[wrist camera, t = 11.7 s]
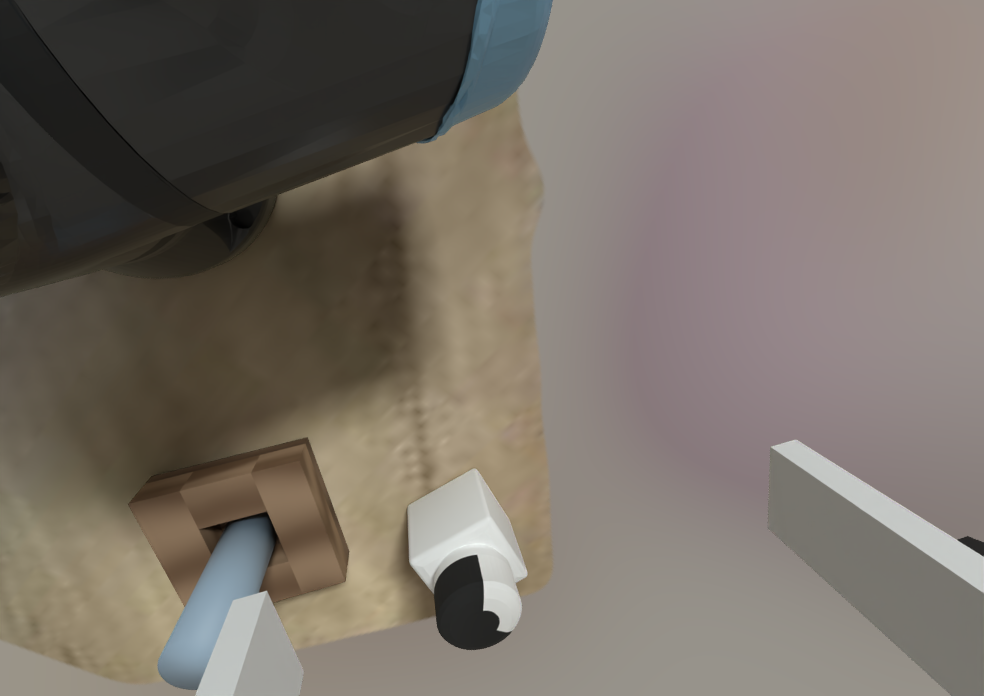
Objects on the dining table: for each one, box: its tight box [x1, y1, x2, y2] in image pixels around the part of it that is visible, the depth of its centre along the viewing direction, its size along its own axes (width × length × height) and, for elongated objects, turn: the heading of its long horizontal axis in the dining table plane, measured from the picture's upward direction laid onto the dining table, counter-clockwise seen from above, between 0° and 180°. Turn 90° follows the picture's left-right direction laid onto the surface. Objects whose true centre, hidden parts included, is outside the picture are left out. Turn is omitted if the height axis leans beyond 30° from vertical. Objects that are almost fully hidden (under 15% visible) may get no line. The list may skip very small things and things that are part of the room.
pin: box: [158, 511, 278, 690], centre depth 33 cm, size 4×4×12 cm
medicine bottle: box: [407, 469, 527, 650], centre depth 38 cm, size 7×7×12 cm
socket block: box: [128, 437, 349, 607], centre depth 38 cm, size 12×12×4 cm
